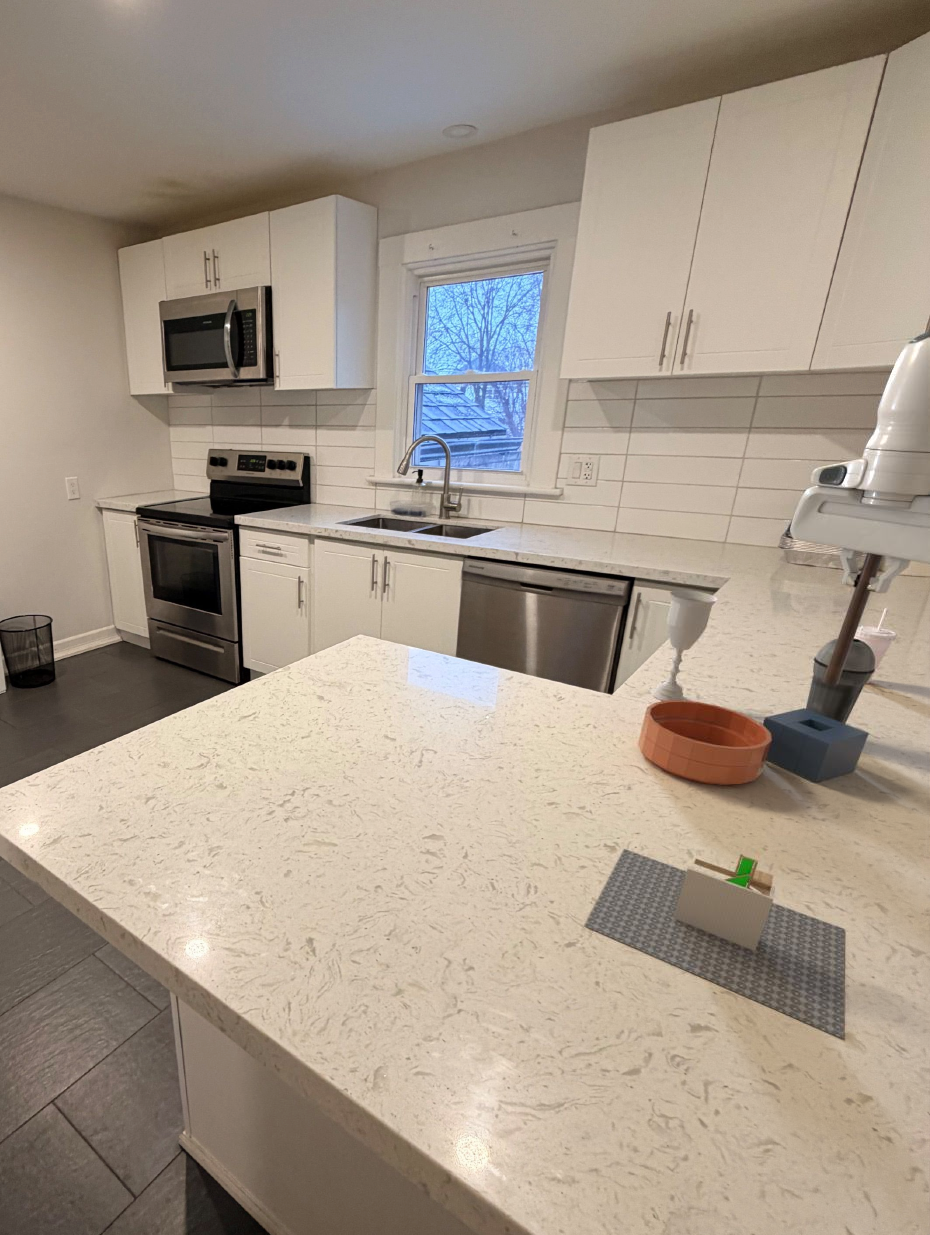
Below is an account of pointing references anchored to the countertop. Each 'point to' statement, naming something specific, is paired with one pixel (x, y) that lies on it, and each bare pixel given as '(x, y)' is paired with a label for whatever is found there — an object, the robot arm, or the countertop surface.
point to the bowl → (704, 742)
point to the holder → (813, 744)
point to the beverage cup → (840, 681)
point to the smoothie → (876, 639)
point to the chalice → (684, 633)
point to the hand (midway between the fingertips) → (863, 588)
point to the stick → (852, 619)
